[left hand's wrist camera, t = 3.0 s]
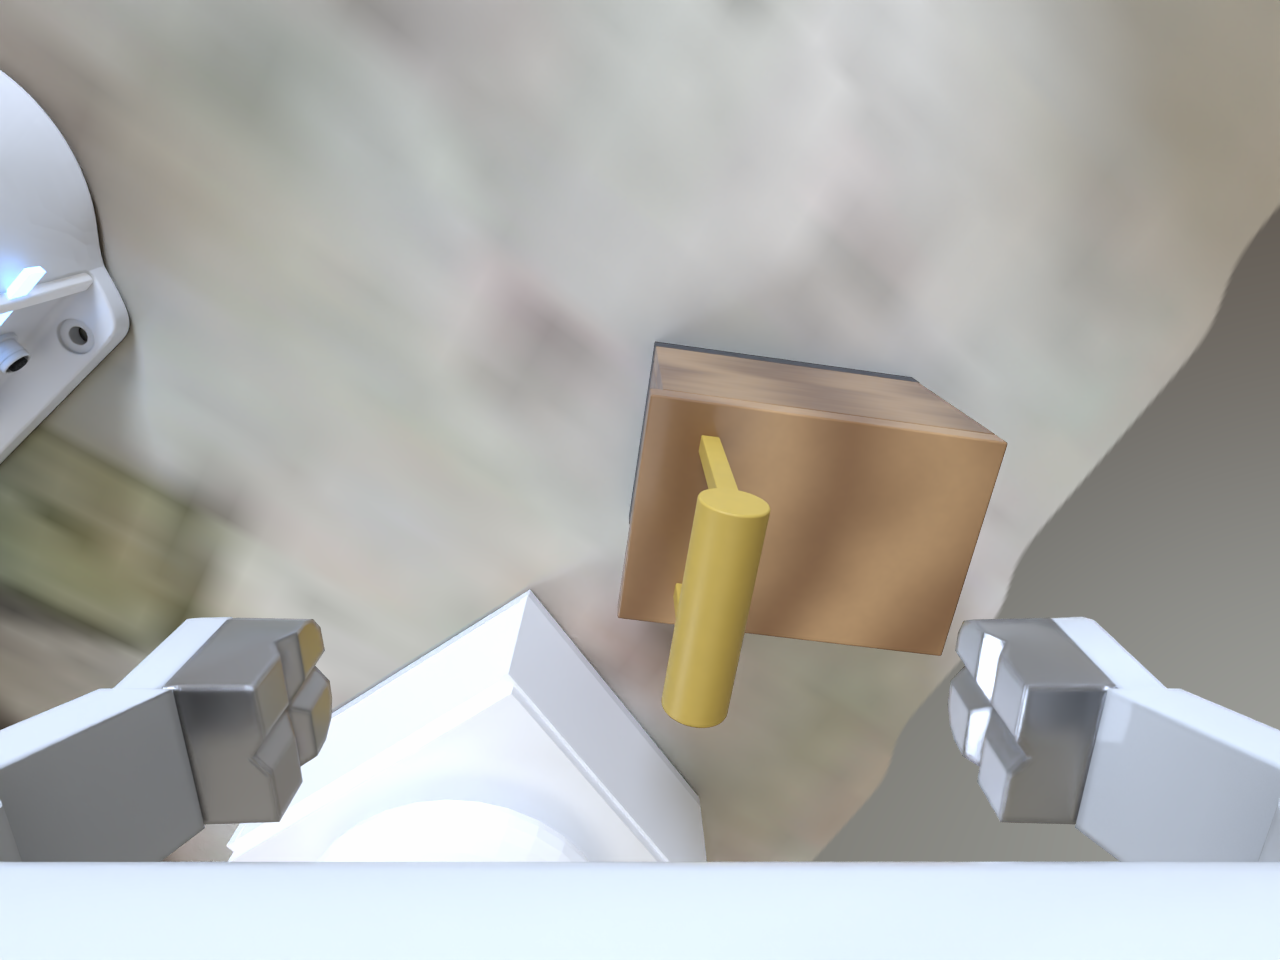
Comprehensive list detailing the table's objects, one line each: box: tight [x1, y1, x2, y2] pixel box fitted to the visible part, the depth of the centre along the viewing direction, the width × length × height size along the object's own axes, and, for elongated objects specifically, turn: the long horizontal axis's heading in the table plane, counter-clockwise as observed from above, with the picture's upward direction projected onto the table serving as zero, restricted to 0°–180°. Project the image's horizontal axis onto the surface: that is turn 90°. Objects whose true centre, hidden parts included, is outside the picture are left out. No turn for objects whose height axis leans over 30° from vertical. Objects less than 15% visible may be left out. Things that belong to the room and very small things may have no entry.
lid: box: [618, 389, 1007, 728], centre depth 28 cm, size 14×9×9 cm
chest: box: [629, 342, 995, 524], centre depth 37 cm, size 13×9×10 cm
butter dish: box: [227, 590, 707, 862], centre depth 41 cm, size 18×18×16 cm
